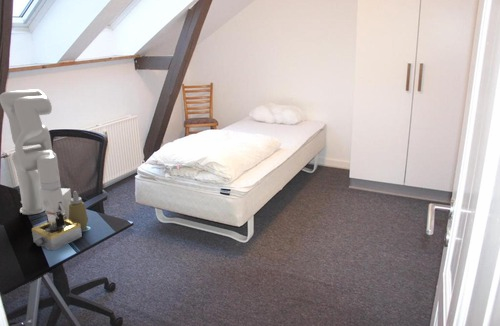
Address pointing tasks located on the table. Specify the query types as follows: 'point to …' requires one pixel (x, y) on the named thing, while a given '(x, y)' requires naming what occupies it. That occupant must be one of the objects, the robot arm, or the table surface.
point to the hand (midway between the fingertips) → (55, 223)
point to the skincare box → (66, 200)
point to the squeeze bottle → (78, 210)
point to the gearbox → (56, 234)
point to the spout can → (53, 221)
